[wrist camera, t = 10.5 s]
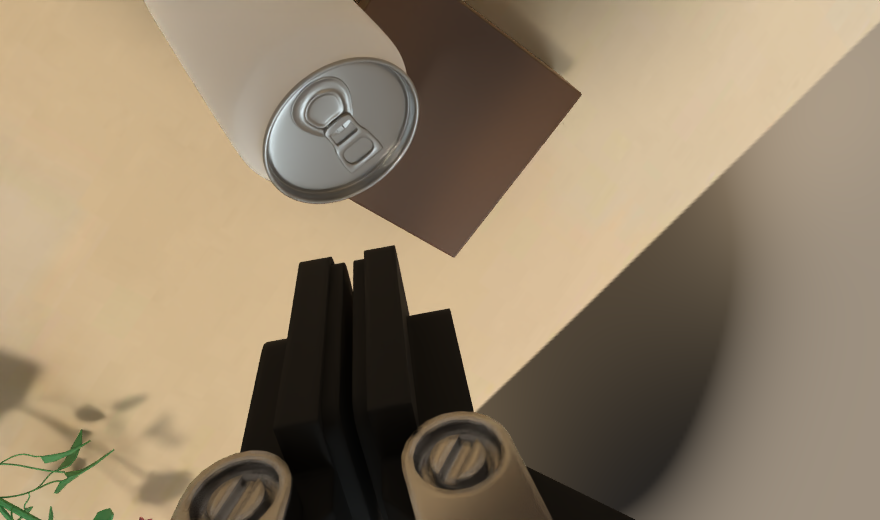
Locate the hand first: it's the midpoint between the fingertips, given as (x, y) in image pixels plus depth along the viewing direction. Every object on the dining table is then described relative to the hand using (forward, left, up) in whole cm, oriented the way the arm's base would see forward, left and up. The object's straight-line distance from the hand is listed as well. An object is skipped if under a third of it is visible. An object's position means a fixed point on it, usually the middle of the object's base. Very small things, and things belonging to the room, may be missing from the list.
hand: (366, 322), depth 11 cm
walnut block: (+2, +3, -22) cm, 22 cm away
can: (-4, -6, -21) cm, 22 cm away
